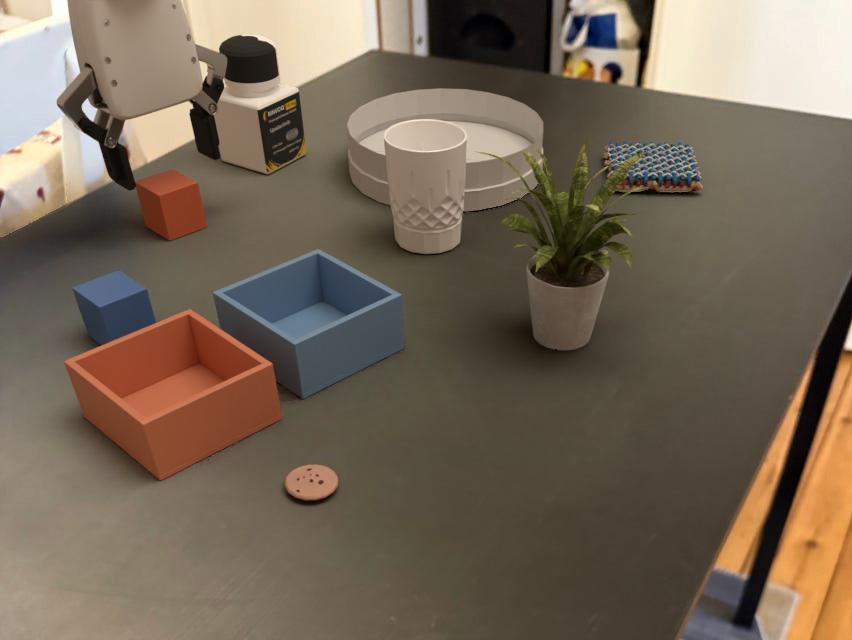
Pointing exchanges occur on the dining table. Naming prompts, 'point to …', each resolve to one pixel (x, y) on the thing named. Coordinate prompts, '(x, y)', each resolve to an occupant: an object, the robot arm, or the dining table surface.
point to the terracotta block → (171, 204)
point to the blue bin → (313, 320)
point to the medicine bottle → (257, 108)
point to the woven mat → (656, 166)
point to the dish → (484, 173)
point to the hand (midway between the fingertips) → (168, 170)
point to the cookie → (311, 482)
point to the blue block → (113, 306)
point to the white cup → (426, 183)
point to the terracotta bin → (175, 392)
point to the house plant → (569, 251)
